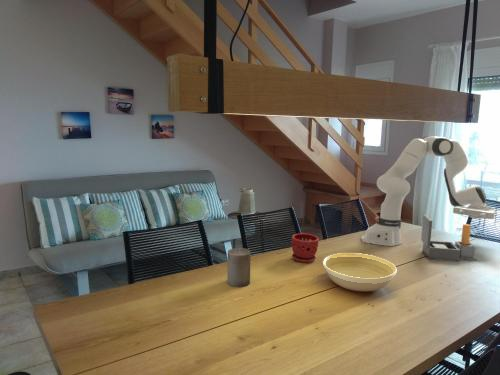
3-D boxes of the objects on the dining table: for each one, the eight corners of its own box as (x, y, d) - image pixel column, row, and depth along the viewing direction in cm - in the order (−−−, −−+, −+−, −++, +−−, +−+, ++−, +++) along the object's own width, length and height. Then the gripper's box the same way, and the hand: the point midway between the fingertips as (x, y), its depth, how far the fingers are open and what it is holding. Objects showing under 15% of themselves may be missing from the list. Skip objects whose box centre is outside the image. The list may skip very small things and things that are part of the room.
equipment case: (426, 258, 196) (429, 220, 193) (420, 250, 210) (423, 214, 207) (458, 261, 193) (462, 222, 190) (450, 252, 207) (453, 216, 204)
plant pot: (289, 263, 186) (290, 239, 185) (292, 254, 199) (293, 232, 197) (316, 265, 183) (317, 241, 182) (318, 257, 196) (319, 234, 194)
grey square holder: (456, 258, 197) (457, 245, 196) (450, 252, 207) (451, 240, 206) (477, 260, 195) (478, 247, 194) (470, 254, 205) (471, 241, 204)
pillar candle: (252, 279, 165) (253, 246, 163) (246, 288, 156) (247, 253, 153) (231, 277, 167) (231, 243, 165) (223, 285, 158) (224, 250, 156)
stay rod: (461, 255, 199) (464, 225, 197) (458, 253, 203) (462, 224, 200) (468, 256, 199) (472, 226, 196) (466, 254, 202) (469, 224, 200)
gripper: (456, 202, 226) (450, 205, 215) (496, 208, 213) (493, 211, 203) (454, 213, 227) (449, 216, 216) (495, 219, 214) (491, 223, 204)
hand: (471, 214), depth 209 cm, fingers open, 8 cm apart
